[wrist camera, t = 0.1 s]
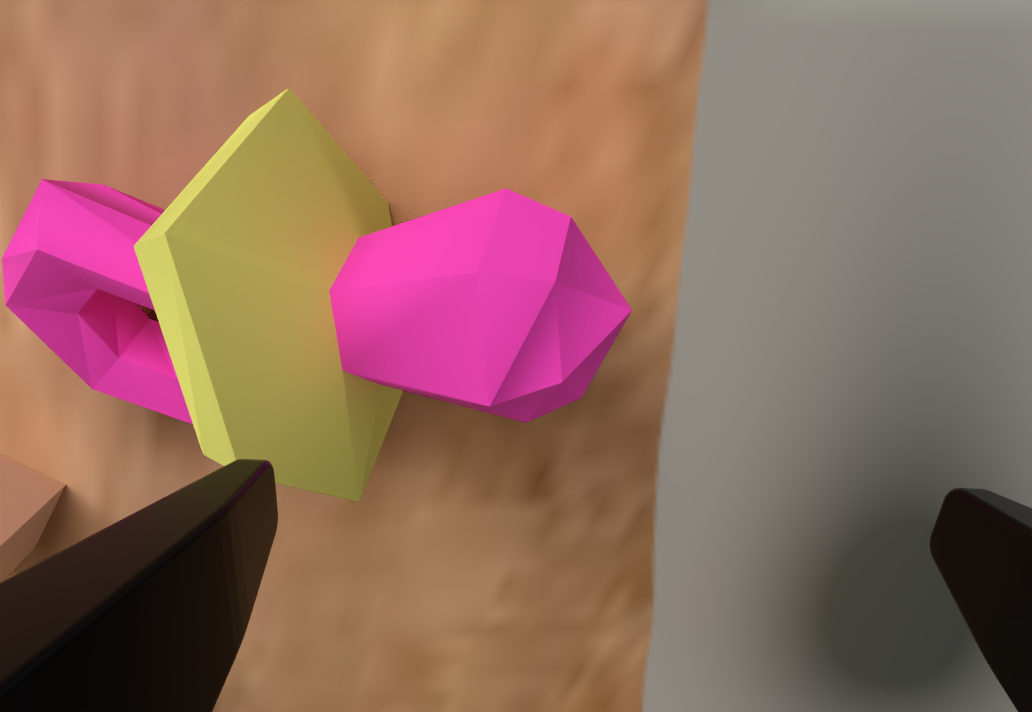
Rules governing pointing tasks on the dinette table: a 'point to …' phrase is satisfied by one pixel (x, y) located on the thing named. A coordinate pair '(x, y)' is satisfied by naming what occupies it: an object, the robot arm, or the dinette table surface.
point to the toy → (309, 302)
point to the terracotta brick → (23, 510)
